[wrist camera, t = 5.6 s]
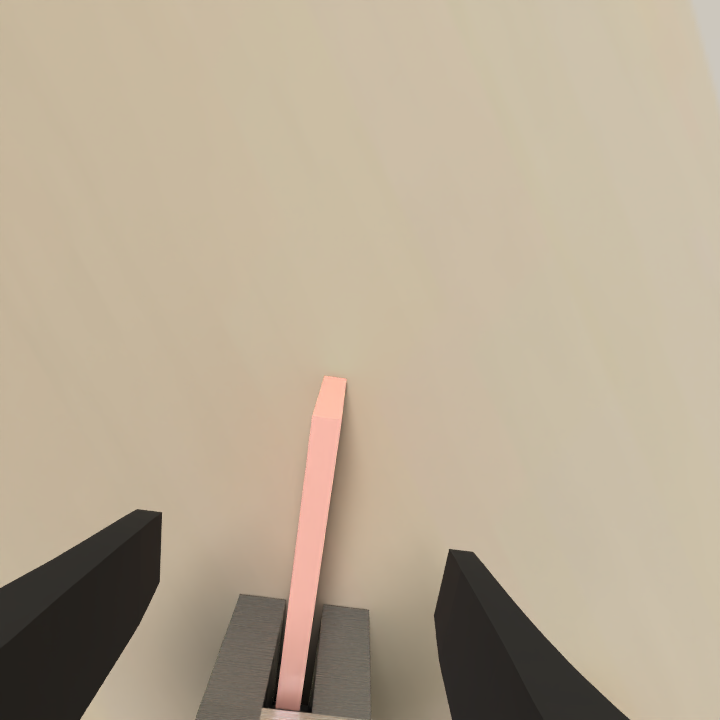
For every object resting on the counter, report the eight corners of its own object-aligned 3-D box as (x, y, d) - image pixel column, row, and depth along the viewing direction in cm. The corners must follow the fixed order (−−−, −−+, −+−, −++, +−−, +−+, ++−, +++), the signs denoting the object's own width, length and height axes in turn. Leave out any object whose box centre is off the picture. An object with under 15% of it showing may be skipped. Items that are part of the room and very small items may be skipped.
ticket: (293, 612, 22) (275, 708, 17) (324, 375, 19) (312, 415, 14) (312, 614, 22) (299, 711, 17) (346, 378, 19) (341, 419, 14)
